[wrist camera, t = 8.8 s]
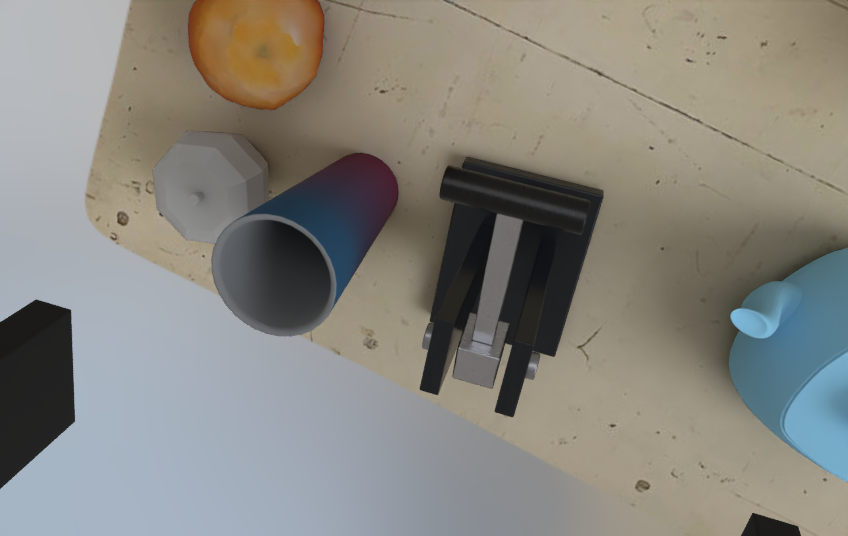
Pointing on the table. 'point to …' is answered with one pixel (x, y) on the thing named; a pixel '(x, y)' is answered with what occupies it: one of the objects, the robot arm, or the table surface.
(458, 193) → the lever
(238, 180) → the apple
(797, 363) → the teapot
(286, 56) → the fruit
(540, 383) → the table surface
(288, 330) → the cup
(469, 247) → the bracket
